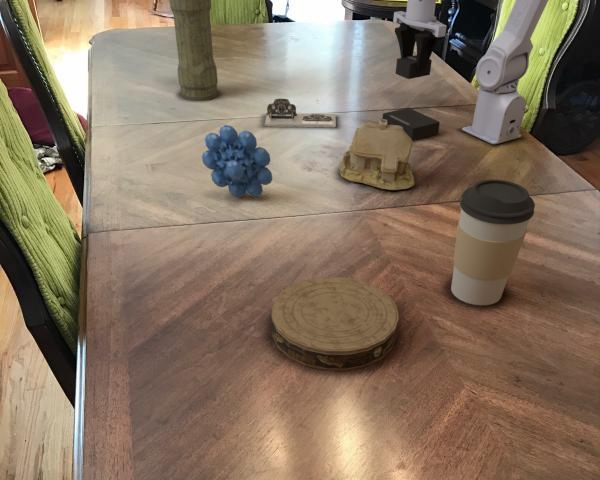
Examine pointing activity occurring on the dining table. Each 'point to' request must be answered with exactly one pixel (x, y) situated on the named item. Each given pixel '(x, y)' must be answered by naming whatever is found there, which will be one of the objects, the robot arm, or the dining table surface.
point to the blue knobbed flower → (237, 162)
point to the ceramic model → (379, 157)
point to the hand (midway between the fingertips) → (413, 67)
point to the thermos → (195, 49)
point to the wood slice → (334, 323)
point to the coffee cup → (489, 239)
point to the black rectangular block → (411, 67)
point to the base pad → (413, 123)
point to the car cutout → (295, 116)
